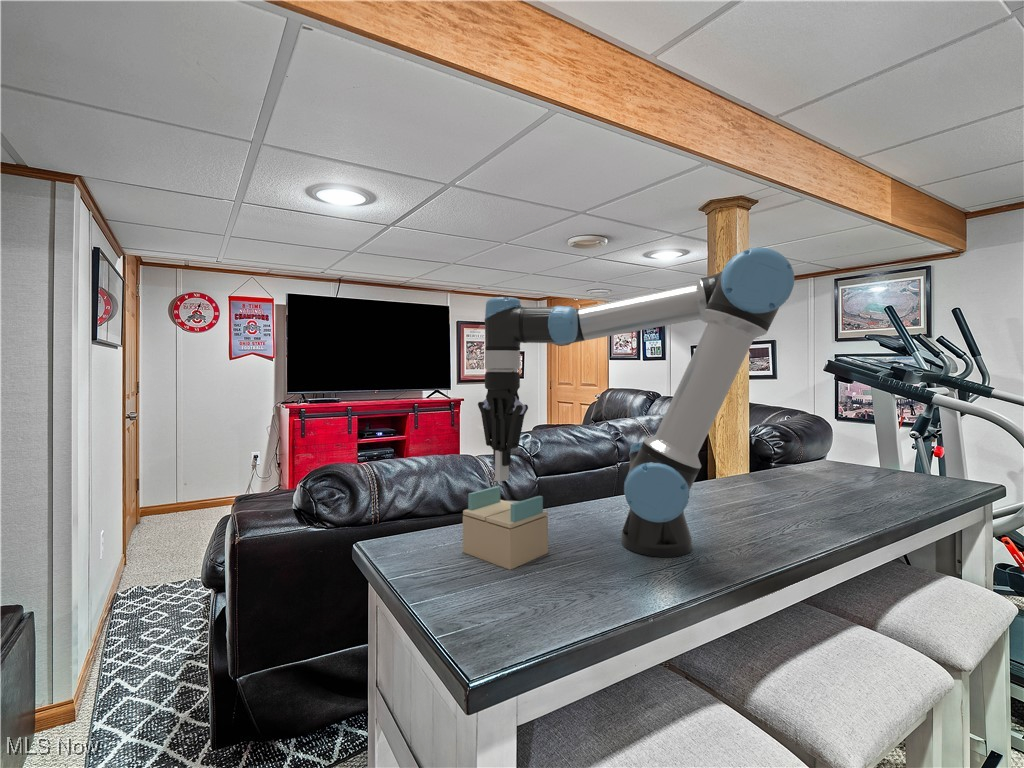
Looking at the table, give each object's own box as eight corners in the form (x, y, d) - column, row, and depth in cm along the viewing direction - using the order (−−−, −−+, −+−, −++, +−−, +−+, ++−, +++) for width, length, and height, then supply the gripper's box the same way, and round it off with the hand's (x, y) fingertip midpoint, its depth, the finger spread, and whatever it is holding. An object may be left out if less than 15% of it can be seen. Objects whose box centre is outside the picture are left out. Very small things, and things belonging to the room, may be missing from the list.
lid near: (547, 515, 108) (547, 495, 108) (510, 528, 99) (510, 506, 99) (523, 509, 113) (523, 490, 112) (486, 521, 104) (486, 500, 104)
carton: (548, 552, 108) (548, 516, 108) (510, 569, 100) (509, 530, 99) (501, 538, 118) (501, 504, 118) (463, 552, 109) (462, 515, 109)
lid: (522, 508, 113) (522, 489, 113) (484, 520, 104) (484, 500, 104) (500, 503, 118) (500, 484, 117) (463, 514, 109) (462, 494, 109)
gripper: (537, 371, 106) (536, 482, 107) (493, 370, 115) (492, 472, 116) (512, 371, 100) (512, 488, 101) (468, 370, 109) (468, 478, 110)
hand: (501, 479), depth 109 cm, fingers closed
